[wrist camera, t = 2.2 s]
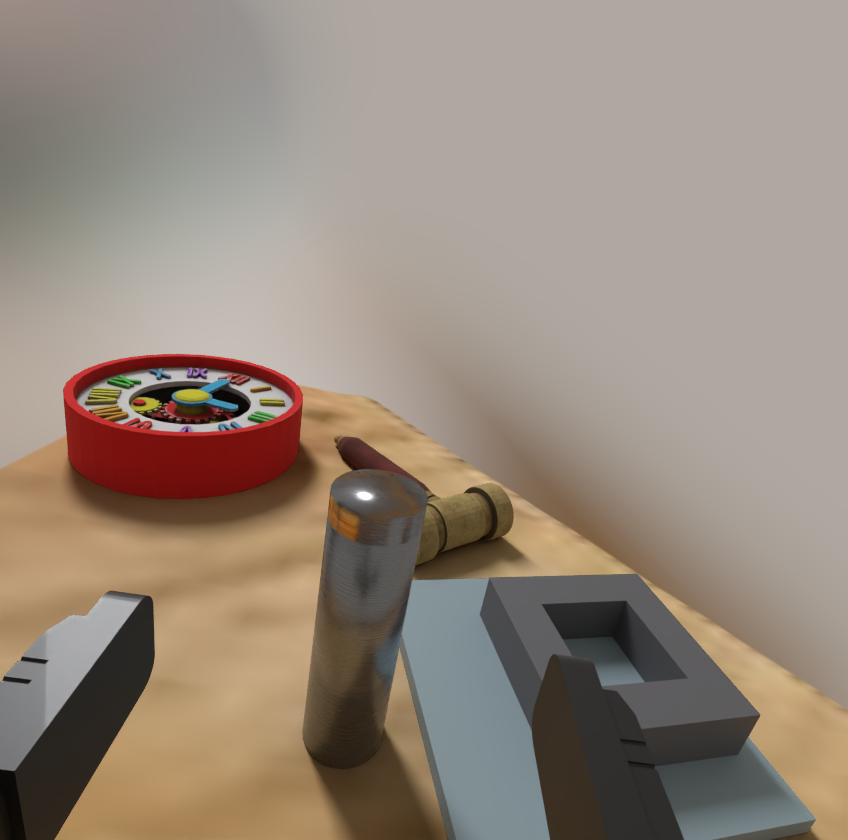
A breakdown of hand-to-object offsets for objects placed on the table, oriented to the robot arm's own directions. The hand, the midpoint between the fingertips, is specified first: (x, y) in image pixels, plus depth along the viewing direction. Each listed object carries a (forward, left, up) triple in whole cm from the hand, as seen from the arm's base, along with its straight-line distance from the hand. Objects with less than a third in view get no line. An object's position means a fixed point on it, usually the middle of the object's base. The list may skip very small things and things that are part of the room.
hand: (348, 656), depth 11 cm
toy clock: (-8, +43, -17) cm, 47 cm away
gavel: (+10, +34, -17) cm, 40 cm away
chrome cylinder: (+3, +11, -17) cm, 20 cm away
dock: (+16, +12, -17) cm, 26 cm away
